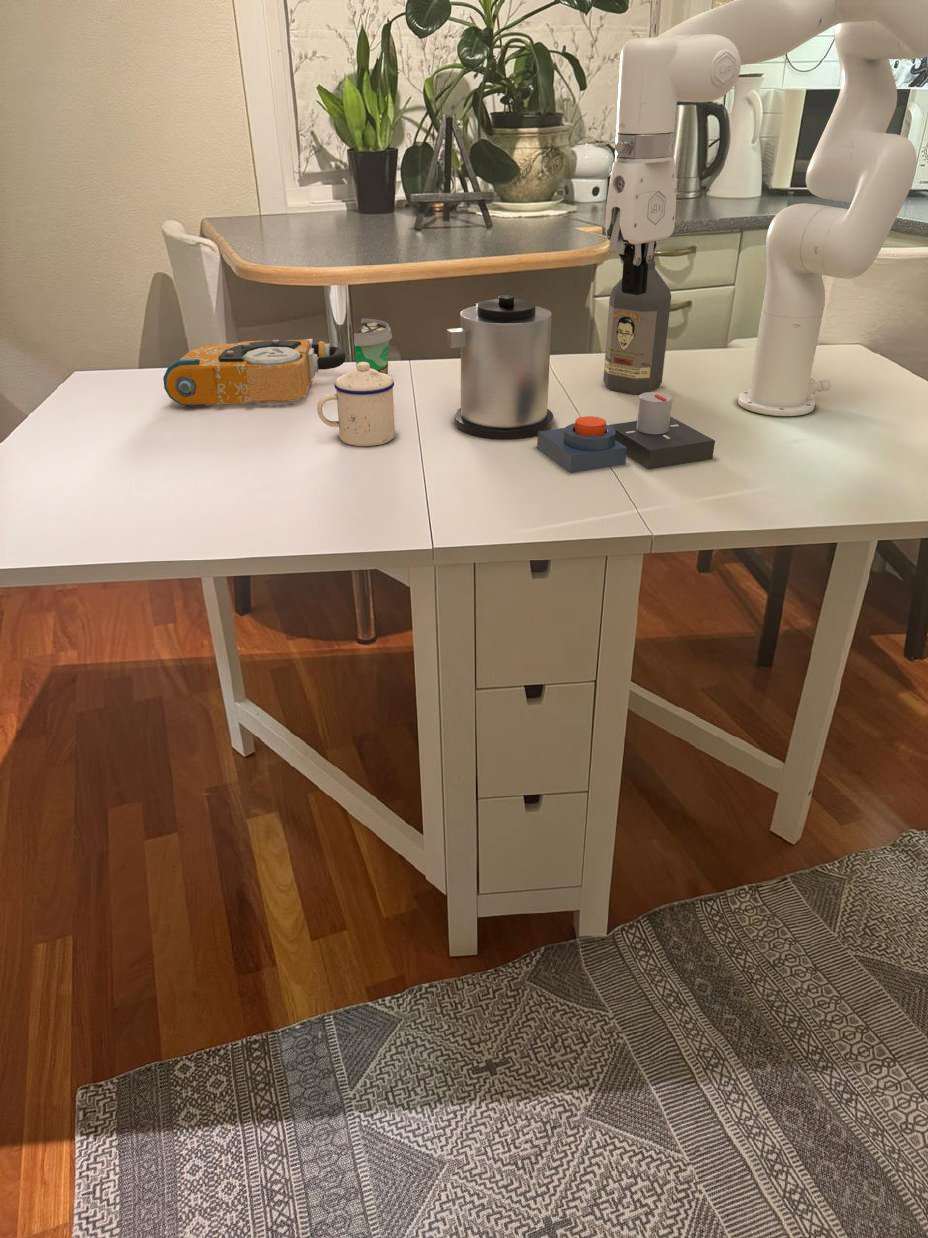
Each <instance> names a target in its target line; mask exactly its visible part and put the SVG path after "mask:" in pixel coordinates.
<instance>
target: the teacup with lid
mask: <svg viewBox="0 0 928 1238" xmlns="http://www.w3.org/2000/svg"><path fill="white" fill-rule="evenodd" d="M333 386H334V389H335V392H336V393H329V394H325V395H323V396H322V397H320V399H319V400H318V402H317V406H316V411H317V415H318V417H319V419H320V420H321V421H322V422H323V424H325V425H326V426H328V427H333V428H338V430H339V431H338V432H339V439H340V440H341V441H342V442H343V443H344V444H346V445H347V444H348V445H350V446H356V447H374V446H380V445H383V444H386V443H389V442H391V441H392V440H394V438H395V436H396V432H395V431H396V430H395V429H396V427H395V409H394V408H395V406H394V387H395V382H394V379H393V378H392V376H391V375H389V374H388V375H387V374H384V373H380V372H378V371H376V370H374V369H371V368H370V364H369V363H367V362H359V363H358V364H357V366H356V368H353V369H352V370H351V371H349V372H348V373H344V374H341V375H339V376H338V377H337V378H336V379H335V381H334V384H333ZM333 400H336V405H337V407H336V408H337V418H338V420H330V419H328V418H326V417H325V416H324V412H323V406H324V405H325V404H326V402H329V401H333Z"/></svg>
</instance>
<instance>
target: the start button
mask: <svg viewBox="0 0 928 1238" xmlns="http://www.w3.org/2000/svg"><path fill="white" fill-rule="evenodd" d="M574 423H575V433H576V434H579V435H583V436H600V435H604V434H605V429H606V425H607V421H606V419H604V418H602V417H599V416H593V415H587V416H585V415H584V416H579V417H577V418H576V419H575V421H574Z"/></svg>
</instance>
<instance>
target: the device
mask: <svg viewBox="0 0 928 1238" xmlns="http://www.w3.org/2000/svg"><path fill="white" fill-rule="evenodd" d="M346 358H347V353H346V352H345V350H344V348H341V347H339V346H332V344H331V343H326V342H325V341H323V340H320V341H318V343H316V344H315V343H314V339H313V338H305V339H272V340H271V339H270V340H243V341H241V342H237V343H213V344H211V343H210V344H204V345H202V346H197V347H194V348H192V349H191V350H189V351H187V353H186V354H184V355H183V356H181V358H180V359H178V360H176V361H175V362H174V363H172V364H170V365H169V366H168V367H167V368H166V370H165V373H164V375H163V378H162V379H163V387H164V388H163V389H164V391H165V392H166V394H167V395H168V397H169V399H171V400H172V401H174V402H175V403H176V404H177V405H179V406H183V407H187V408H192V407H194V408H195V407H206V406H207V405H229V404H231V405H232V404H250V403H254V402H255V403H257V402H259V403H262V404H274V403H275V404H276V403H277V404H283V403H287V402H290V401H297V400H301V399H304V398H305V397H306V396H307V395H308V389H309V387H311V383H312V379H315V376H316V374H317V373H319V371H320V370H321V371H324V370H331V369H336V368H338V367H340V366H342V365H343V364H345V362H346Z"/></svg>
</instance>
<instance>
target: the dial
mask: <svg viewBox="0 0 928 1238" xmlns="http://www.w3.org/2000/svg"><path fill="white" fill-rule="evenodd" d="M672 405H673V396H672V395H670V394H669V393H666V392H661V391H651V392H646V393H642V394H639V398H638V407H637V408H638V409H637V418H636V420H637V427H636V428H637V430H638V431H640V432H642V433H646V434H654V435H656V434H664V433H667V432H668V431H669V424H670V416H671V415H672V408H673V407H672Z"/></svg>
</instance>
